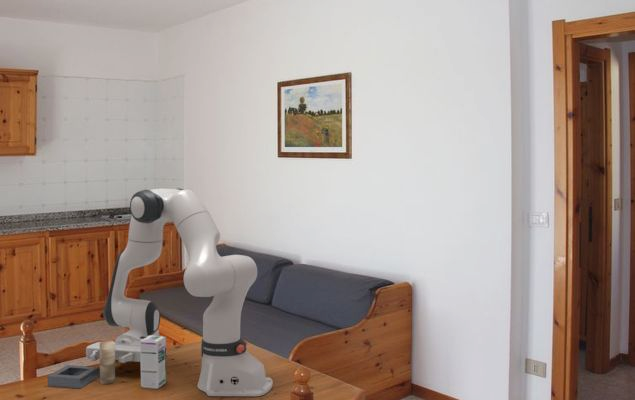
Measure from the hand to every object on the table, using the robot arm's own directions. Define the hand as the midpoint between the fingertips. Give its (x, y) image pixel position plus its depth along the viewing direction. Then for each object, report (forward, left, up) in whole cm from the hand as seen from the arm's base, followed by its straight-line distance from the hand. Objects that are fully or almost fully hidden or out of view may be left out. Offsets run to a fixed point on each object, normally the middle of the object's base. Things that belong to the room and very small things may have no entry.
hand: (106, 359), depth 191 cm
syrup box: (-15, 0, -7) cm, 17 cm away
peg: (0, 0, -7) cm, 7 cm away
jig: (+10, +2, -7) cm, 12 cm away
